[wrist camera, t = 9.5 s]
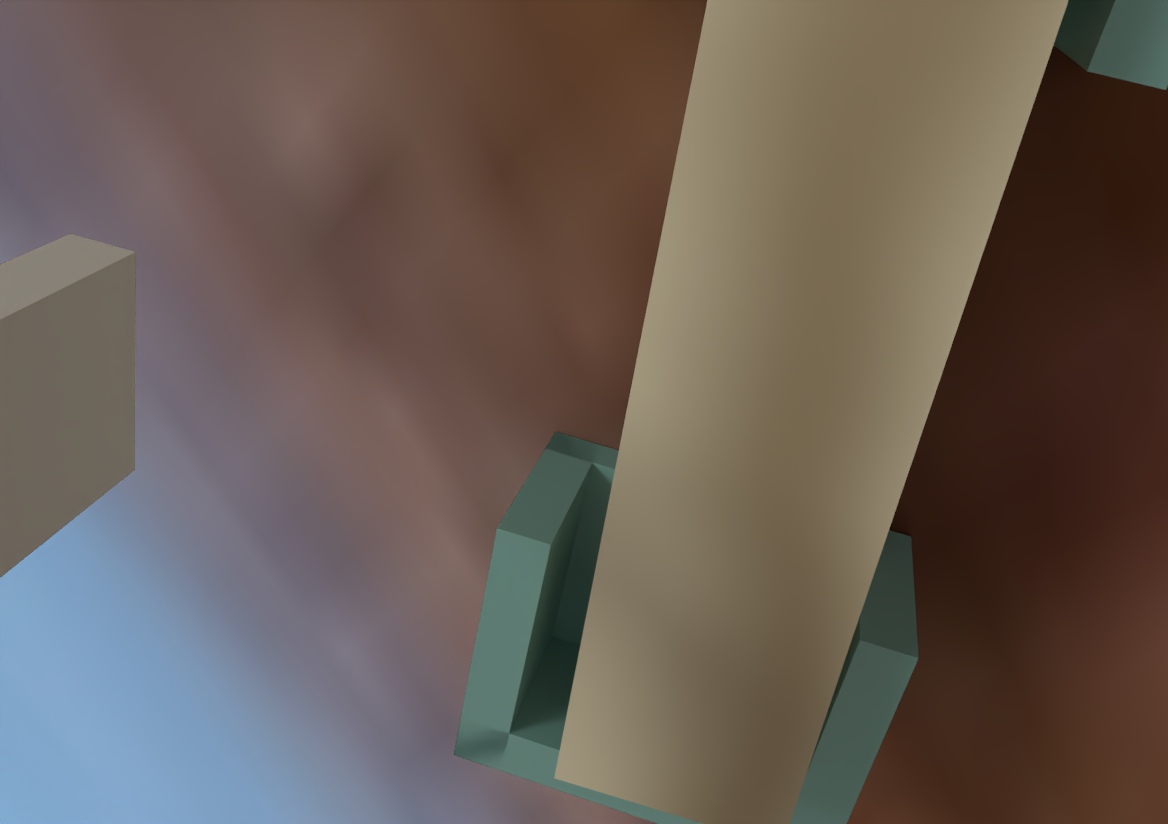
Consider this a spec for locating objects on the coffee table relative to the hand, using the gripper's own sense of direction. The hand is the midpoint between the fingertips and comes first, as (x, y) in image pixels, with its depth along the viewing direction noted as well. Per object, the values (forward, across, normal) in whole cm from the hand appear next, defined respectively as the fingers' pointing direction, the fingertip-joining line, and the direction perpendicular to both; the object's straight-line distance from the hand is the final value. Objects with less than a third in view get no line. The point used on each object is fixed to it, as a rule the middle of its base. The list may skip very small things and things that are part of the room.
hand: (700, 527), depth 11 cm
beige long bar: (+9, +1, 0) cm, 9 cm away
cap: (+10, +1, -8) cm, 12 cm away
